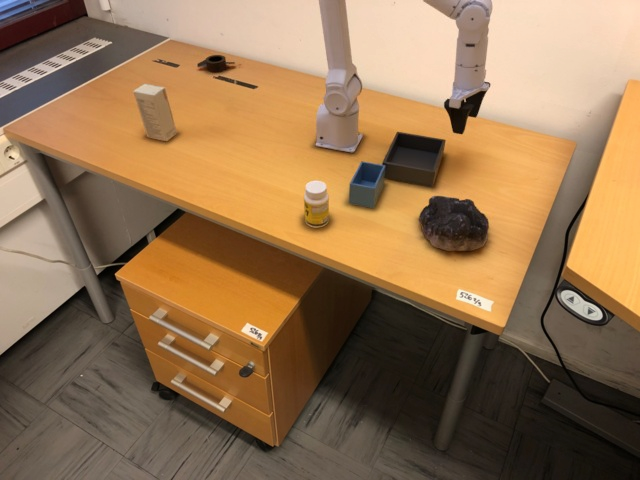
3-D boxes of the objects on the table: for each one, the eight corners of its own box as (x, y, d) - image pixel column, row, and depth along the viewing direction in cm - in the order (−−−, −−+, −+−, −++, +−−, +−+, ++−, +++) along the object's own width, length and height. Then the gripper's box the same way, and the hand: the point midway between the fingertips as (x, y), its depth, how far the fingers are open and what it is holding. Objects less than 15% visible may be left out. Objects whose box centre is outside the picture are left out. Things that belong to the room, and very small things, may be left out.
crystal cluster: (441, 204, 106) (442, 164, 99) (504, 226, 99) (510, 185, 92) (405, 242, 99) (404, 202, 93) (470, 269, 92) (474, 228, 85)
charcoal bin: (381, 177, 112) (382, 162, 109) (395, 146, 121) (396, 131, 118) (432, 187, 109) (435, 172, 106) (443, 154, 118) (445, 139, 116)
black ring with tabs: (211, 60, 158) (209, 51, 156) (238, 66, 154) (236, 57, 153) (195, 70, 153) (193, 60, 151) (223, 76, 150) (221, 67, 148)
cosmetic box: (177, 133, 127) (166, 87, 118) (166, 142, 124) (155, 95, 116) (156, 128, 129) (144, 82, 120) (145, 136, 126) (132, 90, 118)
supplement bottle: (304, 213, 104) (302, 179, 98) (327, 212, 104) (327, 178, 98) (305, 229, 100) (304, 195, 94) (329, 227, 100) (329, 193, 95)
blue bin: (373, 208, 104) (374, 188, 101) (348, 203, 106) (349, 183, 102) (383, 184, 110) (385, 165, 107) (360, 180, 111) (361, 161, 108)
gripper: (476, 79, 94) (470, 144, 103) (503, 50, 103) (495, 112, 112) (440, 74, 98) (437, 137, 106) (469, 46, 106) (464, 106, 115)
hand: (465, 124), depth 109 cm, fingers open, 7 cm apart
